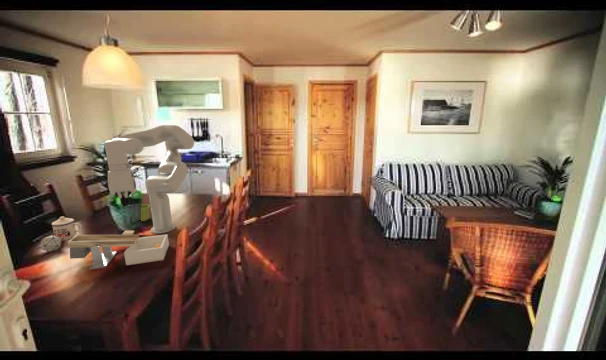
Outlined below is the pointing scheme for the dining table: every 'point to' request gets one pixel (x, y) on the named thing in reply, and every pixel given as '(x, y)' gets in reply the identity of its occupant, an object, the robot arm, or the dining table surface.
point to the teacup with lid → (65, 228)
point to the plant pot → (144, 212)
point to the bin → (147, 250)
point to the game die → (50, 243)
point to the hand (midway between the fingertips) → (125, 205)
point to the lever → (99, 242)
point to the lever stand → (101, 256)
